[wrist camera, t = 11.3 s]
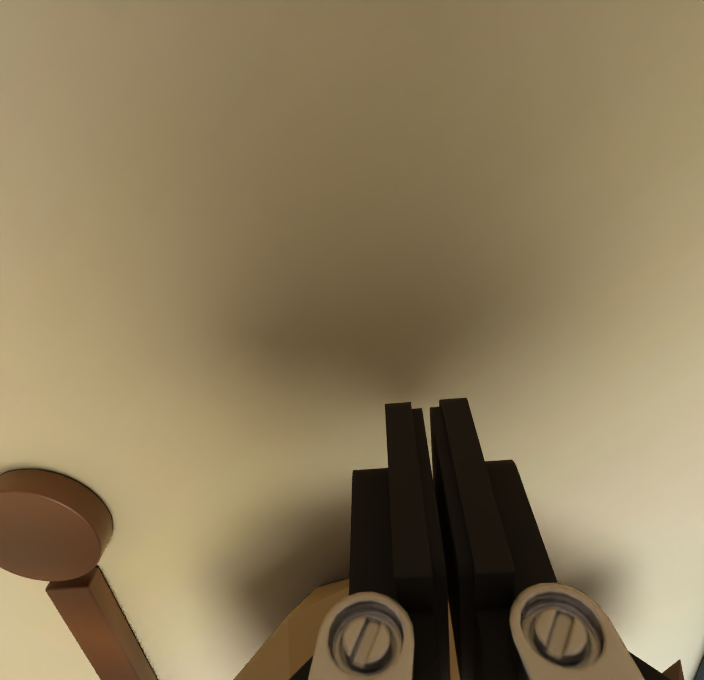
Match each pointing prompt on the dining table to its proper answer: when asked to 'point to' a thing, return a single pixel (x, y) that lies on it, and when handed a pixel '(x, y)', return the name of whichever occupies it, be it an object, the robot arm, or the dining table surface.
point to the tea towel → (700, 672)
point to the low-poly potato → (302, 631)
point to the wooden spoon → (69, 564)
